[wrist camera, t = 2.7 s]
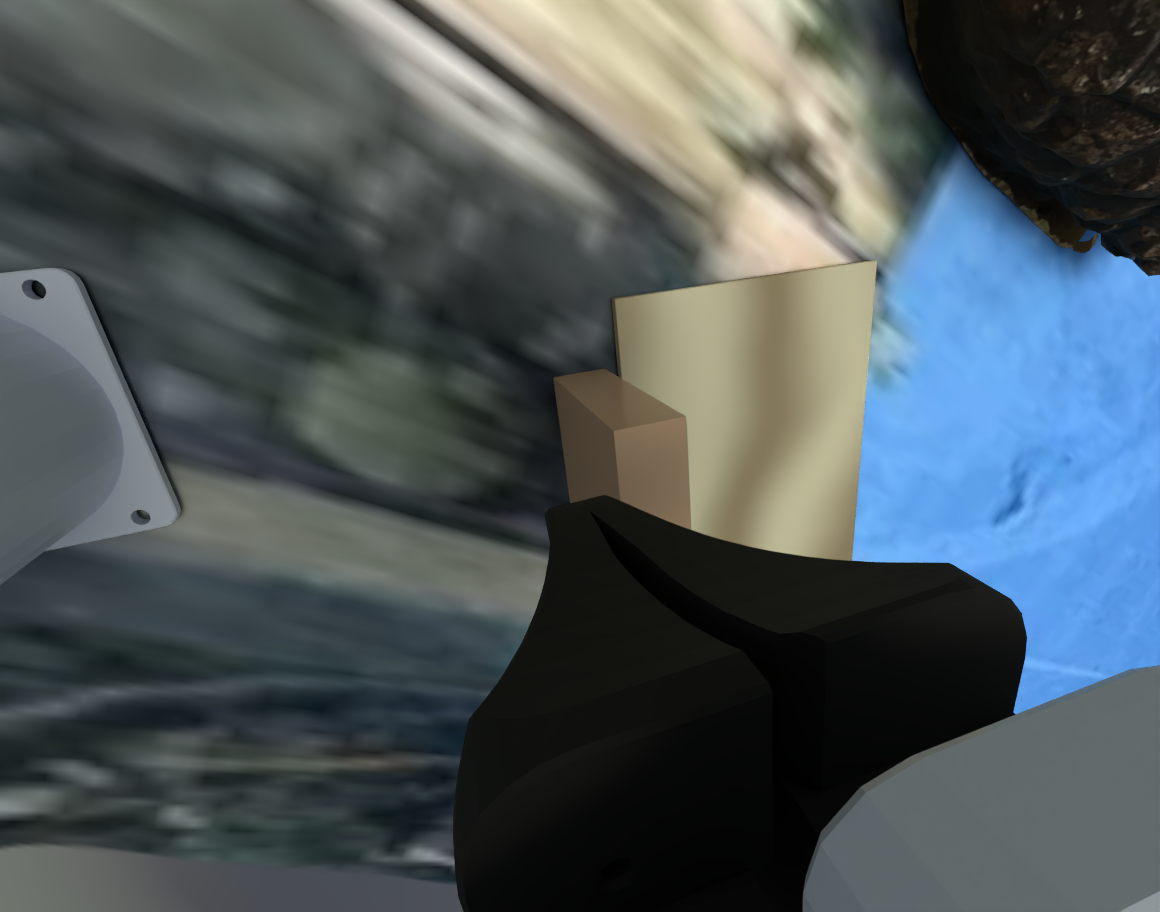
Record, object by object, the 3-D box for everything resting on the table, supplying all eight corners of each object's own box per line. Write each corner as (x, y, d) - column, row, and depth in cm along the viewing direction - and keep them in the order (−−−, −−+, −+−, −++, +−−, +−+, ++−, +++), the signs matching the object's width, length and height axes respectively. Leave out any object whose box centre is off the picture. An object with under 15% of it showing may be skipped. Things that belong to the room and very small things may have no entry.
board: (639, 614, 25) (642, 619, 24) (611, 298, 19) (614, 299, 19) (845, 557, 27) (851, 561, 27) (869, 260, 22) (876, 260, 21)
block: (580, 580, 23) (639, 700, 17) (553, 377, 20) (613, 431, 14) (627, 568, 24) (702, 681, 17) (607, 367, 20) (691, 415, 14)
